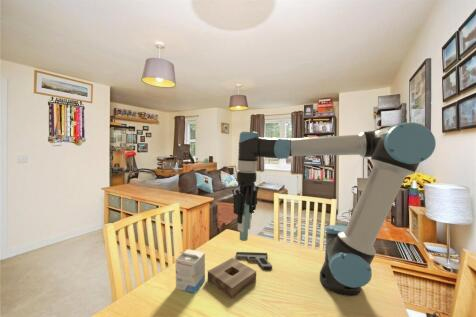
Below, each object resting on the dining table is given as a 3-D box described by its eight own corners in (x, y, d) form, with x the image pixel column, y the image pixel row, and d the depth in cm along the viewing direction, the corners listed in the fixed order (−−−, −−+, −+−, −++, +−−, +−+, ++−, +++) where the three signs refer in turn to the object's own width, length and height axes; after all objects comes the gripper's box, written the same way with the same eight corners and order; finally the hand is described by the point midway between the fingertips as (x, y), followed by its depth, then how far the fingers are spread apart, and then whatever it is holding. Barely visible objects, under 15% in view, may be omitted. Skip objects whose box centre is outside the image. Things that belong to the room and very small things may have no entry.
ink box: (205, 280, 83) (205, 248, 82) (194, 294, 75) (194, 259, 74) (187, 275, 86) (187, 244, 85) (175, 288, 78) (175, 254, 77)
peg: (249, 239, 82) (251, 205, 81) (243, 241, 80) (245, 206, 79) (243, 236, 84) (245, 203, 83) (237, 238, 82) (239, 204, 81)
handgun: (272, 266, 91) (269, 252, 103) (235, 265, 91) (236, 251, 103) (272, 271, 91) (269, 256, 103) (235, 269, 91) (236, 255, 103)
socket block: (256, 280, 83) (256, 271, 83) (231, 298, 73) (232, 288, 73) (231, 266, 93) (232, 257, 93) (207, 280, 83) (207, 271, 83)
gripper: (253, 169, 88) (250, 221, 90) (225, 171, 77) (222, 231, 78) (267, 171, 83) (263, 227, 85) (239, 174, 72) (236, 238, 73)
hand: (244, 229), depth 82 cm, fingers closed on peg, 3 cm apart
